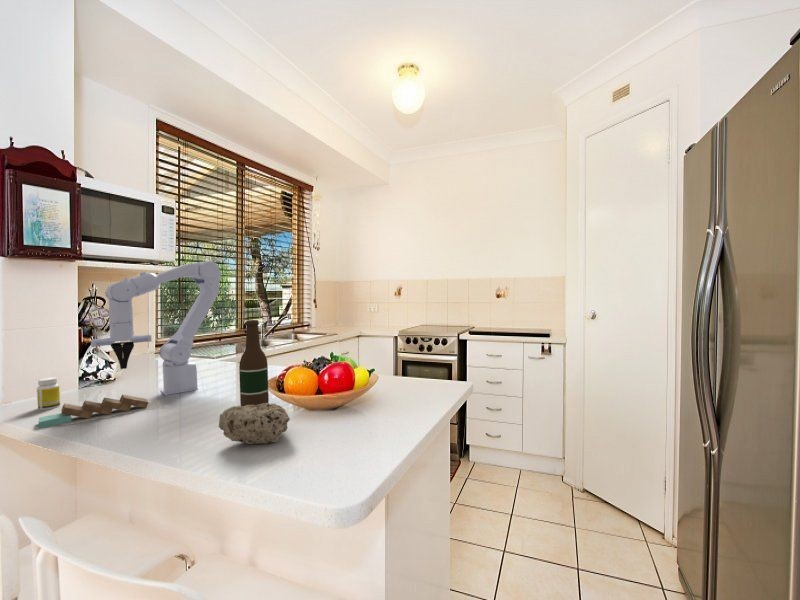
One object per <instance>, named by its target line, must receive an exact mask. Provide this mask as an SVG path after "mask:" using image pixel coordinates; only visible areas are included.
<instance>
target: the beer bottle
mask: <svg viewBox="0 0 800 600" xmlns="http://www.w3.org/2000/svg"><path fill="white" fill-rule="evenodd" d="M259 325H260V322H259V320H258V319H249V320H246V321H245V325H244V326H245V327H246V328H245V329H246V330H245V331H246V332H245V333H246V336H245V350H244V351H243V353H242V354H241V358H240V359H239V365H238V368H239V373H238V374H239V398H240V399H239V401H240V406H246V405H258V404H263V403H269V402H270V401H269V399H270V398H269V397H270V396H269V373H268V372H269V371H268V368H269V367H268V358H267V356H266V353H265V352H264V351H263V349H262V348H261V347H262V346H261V341H260V332H259ZM269 404H270V403H269Z"/></svg>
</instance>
